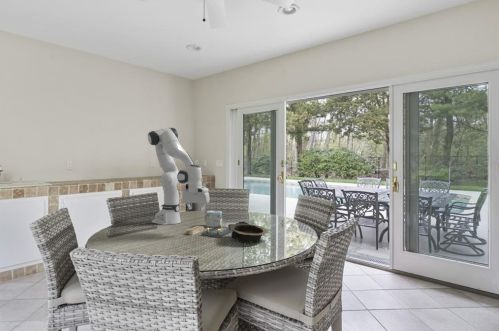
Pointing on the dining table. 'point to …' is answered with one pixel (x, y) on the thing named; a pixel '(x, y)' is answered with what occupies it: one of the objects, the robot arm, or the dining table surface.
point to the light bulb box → (213, 218)
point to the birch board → (195, 230)
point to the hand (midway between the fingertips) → (195, 209)
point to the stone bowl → (247, 232)
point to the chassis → (217, 231)
